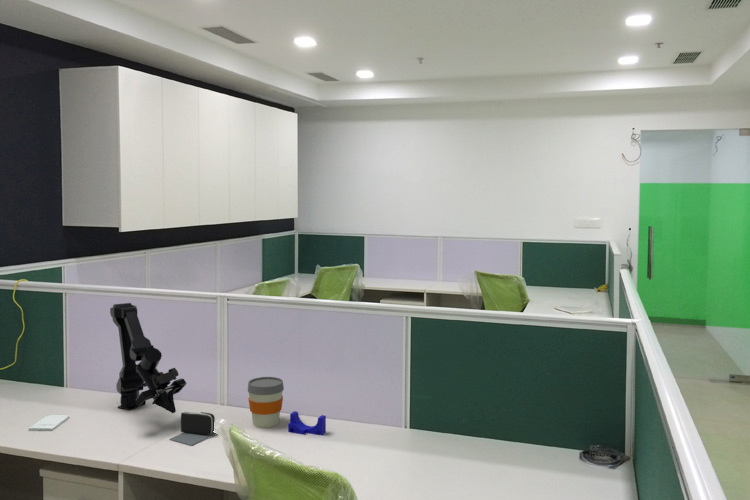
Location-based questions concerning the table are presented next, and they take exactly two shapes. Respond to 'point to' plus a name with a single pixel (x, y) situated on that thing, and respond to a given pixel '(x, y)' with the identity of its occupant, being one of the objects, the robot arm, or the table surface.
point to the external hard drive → (49, 423)
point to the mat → (191, 438)
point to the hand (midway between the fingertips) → (174, 412)
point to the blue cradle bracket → (301, 428)
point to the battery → (197, 423)
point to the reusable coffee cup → (265, 400)
